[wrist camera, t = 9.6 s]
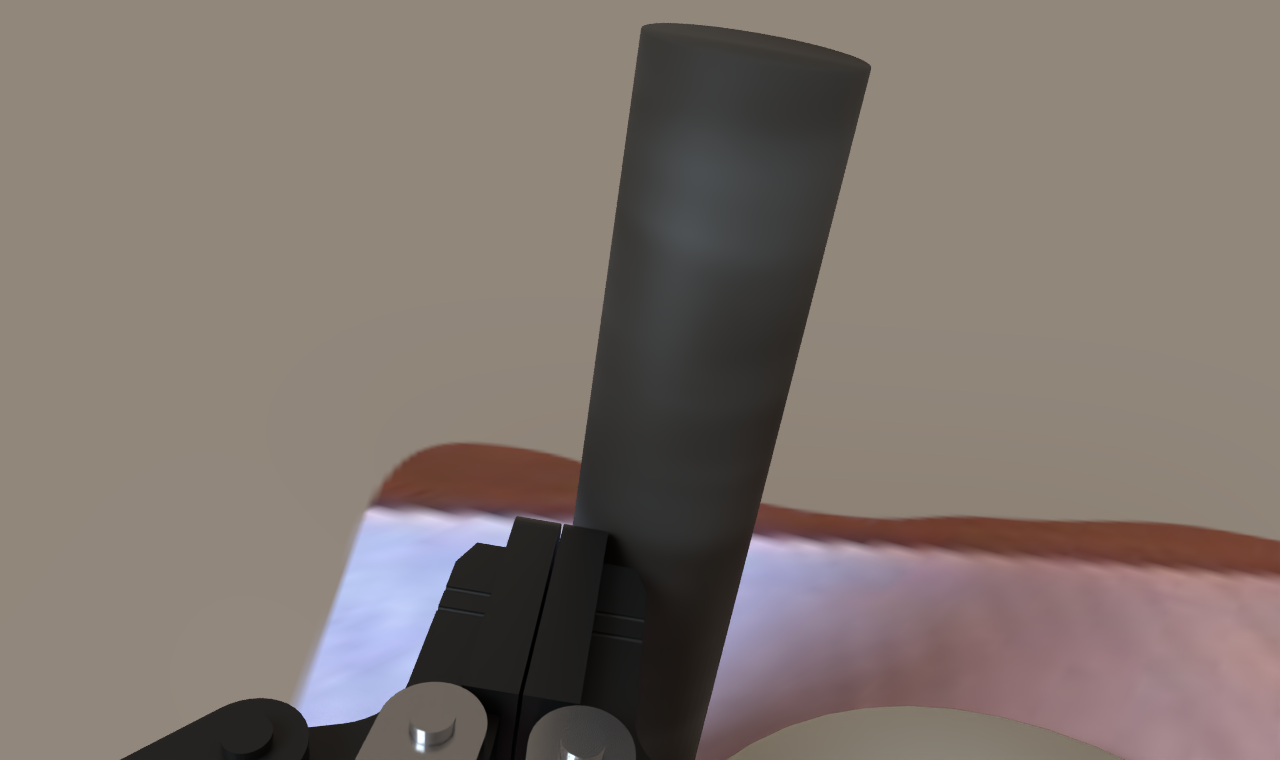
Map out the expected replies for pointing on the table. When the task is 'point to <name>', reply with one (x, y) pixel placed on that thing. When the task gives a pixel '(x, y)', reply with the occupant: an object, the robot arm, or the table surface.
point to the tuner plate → (917, 738)
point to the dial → (706, 330)
